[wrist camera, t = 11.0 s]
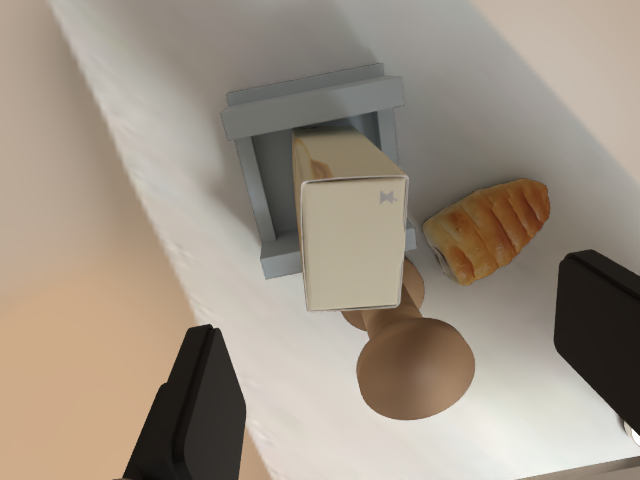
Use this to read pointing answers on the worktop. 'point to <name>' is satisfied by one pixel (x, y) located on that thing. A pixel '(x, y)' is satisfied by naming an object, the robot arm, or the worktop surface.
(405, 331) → the wooden mushroom
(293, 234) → the grey rectangular frame
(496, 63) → the worktop surface
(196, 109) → the worktop surface
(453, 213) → the pastry
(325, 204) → the skincare box
